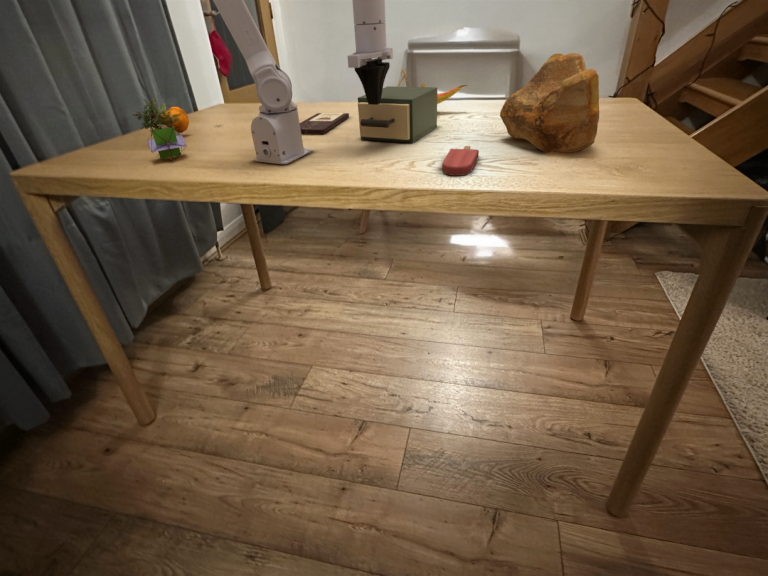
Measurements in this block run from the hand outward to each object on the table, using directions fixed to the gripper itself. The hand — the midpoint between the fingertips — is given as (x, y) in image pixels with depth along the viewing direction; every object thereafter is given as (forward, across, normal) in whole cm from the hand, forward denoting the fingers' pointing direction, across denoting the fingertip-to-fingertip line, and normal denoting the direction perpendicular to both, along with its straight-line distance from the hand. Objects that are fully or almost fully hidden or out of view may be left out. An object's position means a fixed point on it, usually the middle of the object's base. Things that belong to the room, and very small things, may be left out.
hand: (374, 104), depth 85 cm
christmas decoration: (+8, +6, +51) cm, 52 cm away
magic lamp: (+8, +33, 0) cm, 34 cm away
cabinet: (+8, +12, 0) cm, 14 cm away
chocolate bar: (+8, +14, +23) cm, 28 cm away
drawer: (+7, +8, 0) cm, 11 cm away
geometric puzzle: (+9, -20, +38) cm, 44 cm away
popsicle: (+8, -5, -20) cm, 22 cm away
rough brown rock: (+8, +13, -31) cm, 35 cm away
